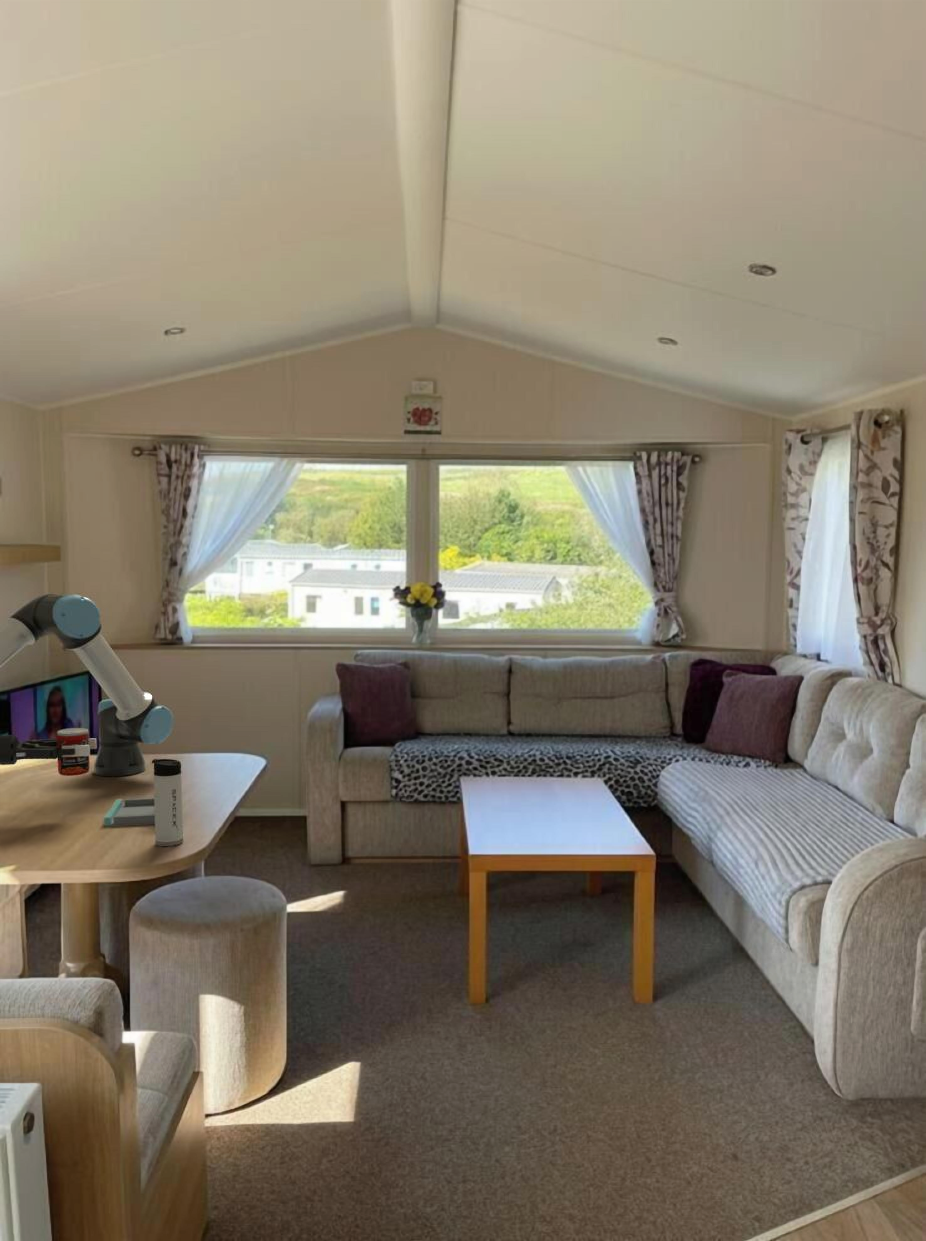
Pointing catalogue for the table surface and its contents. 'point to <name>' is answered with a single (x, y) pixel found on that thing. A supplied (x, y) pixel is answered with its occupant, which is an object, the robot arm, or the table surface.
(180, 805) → the travel mug
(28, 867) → the table surface
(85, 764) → the canned food
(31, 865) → the table surface
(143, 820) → the tray with upright backboard
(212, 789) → the table surface
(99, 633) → the robot arm
